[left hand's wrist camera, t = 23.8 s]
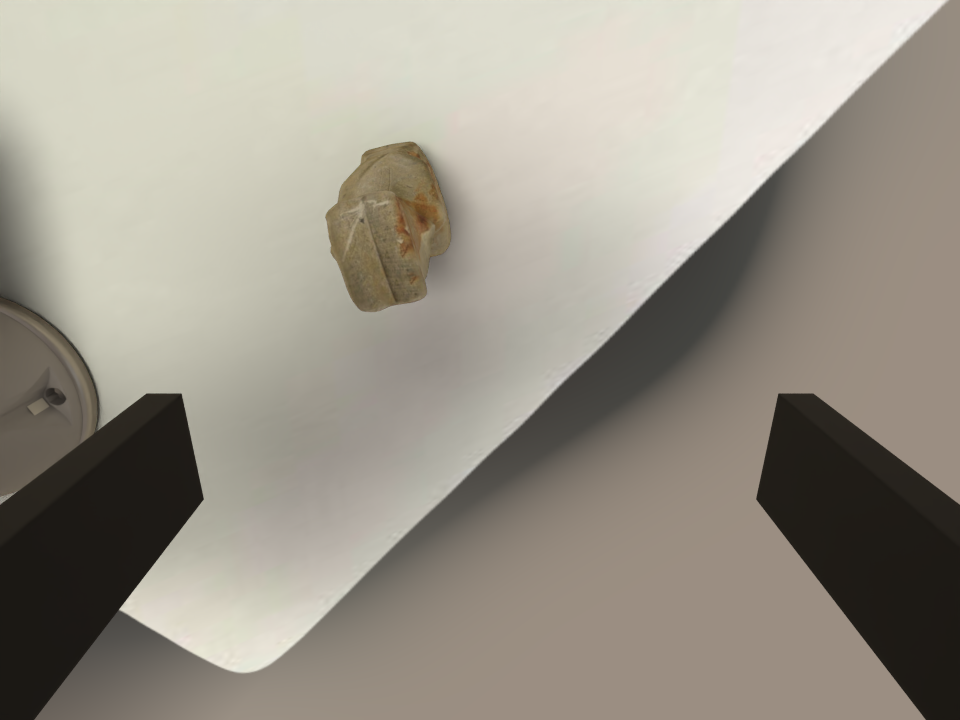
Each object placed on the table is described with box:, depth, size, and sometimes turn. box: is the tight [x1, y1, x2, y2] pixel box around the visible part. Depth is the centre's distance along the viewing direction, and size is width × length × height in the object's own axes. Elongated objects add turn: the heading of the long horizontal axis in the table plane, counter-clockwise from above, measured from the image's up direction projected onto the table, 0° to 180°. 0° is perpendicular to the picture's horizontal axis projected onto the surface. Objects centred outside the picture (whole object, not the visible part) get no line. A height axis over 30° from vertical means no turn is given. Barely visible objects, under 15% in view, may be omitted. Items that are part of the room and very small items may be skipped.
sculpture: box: [325, 142, 451, 312], centre depth 30 cm, size 6×7×15 cm
